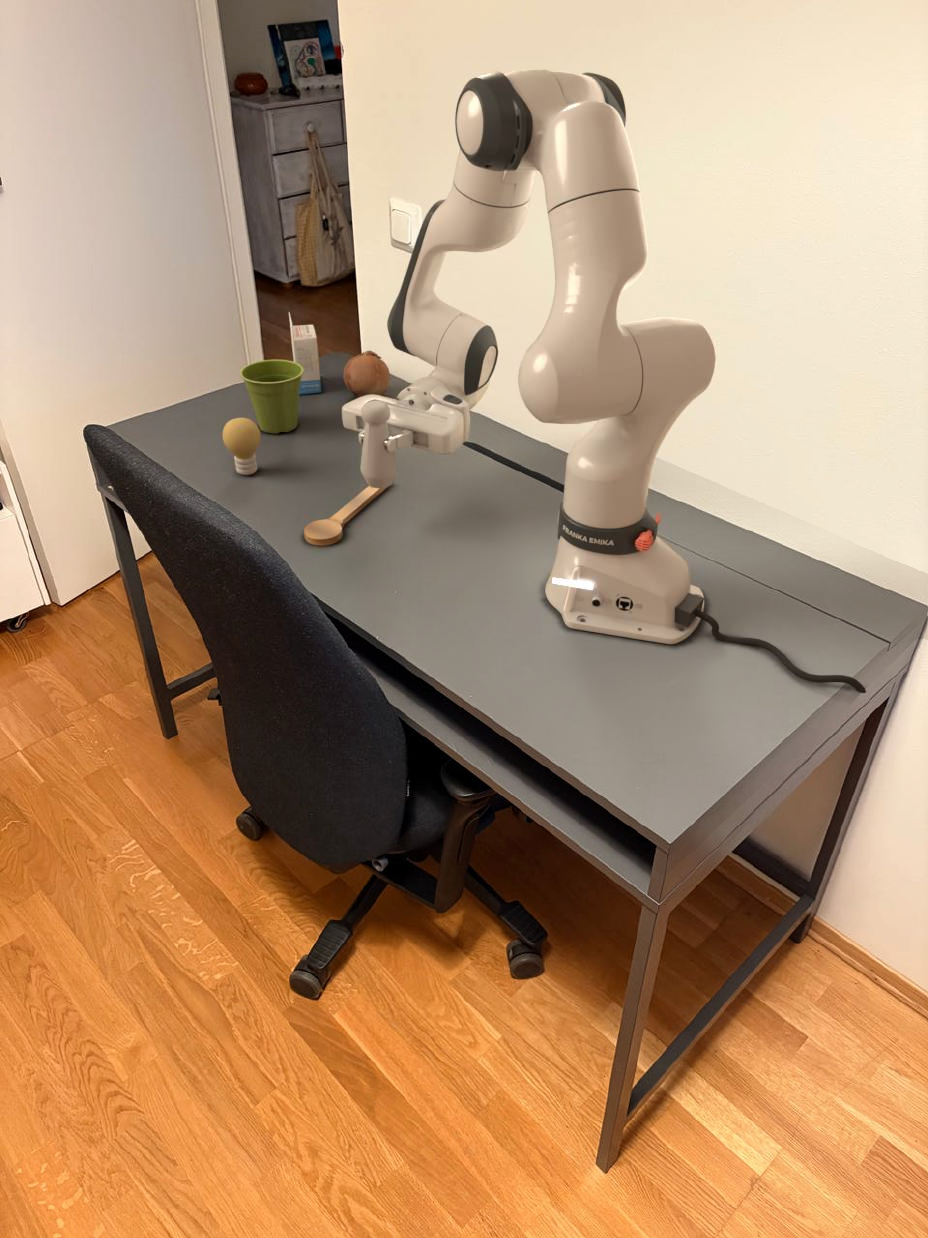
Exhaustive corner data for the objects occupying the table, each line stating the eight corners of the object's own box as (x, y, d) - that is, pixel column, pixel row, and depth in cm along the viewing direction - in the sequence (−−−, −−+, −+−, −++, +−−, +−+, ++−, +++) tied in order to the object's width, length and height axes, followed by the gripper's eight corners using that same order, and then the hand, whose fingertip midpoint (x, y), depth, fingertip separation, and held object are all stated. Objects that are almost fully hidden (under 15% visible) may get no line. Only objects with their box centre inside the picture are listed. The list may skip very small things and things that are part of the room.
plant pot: (304, 440, 172) (298, 383, 165) (242, 439, 172) (233, 382, 166) (314, 413, 182) (308, 358, 175) (254, 413, 182) (246, 358, 175)
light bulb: (268, 476, 160) (261, 424, 154) (232, 483, 159) (223, 429, 153) (261, 461, 165) (254, 409, 159) (226, 467, 163) (217, 415, 157)
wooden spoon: (369, 480, 159) (368, 474, 159) (399, 487, 157) (398, 481, 157) (297, 540, 144) (296, 533, 143) (329, 549, 142) (328, 542, 141)
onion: (371, 402, 193) (377, 353, 191) (395, 404, 186) (401, 354, 184) (332, 396, 187) (337, 346, 185) (355, 398, 180) (361, 346, 178)
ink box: (322, 392, 190) (316, 322, 181) (298, 395, 189) (290, 324, 180) (318, 377, 196) (311, 308, 188) (295, 379, 196) (287, 310, 187)
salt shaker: (392, 493, 140) (388, 414, 132) (357, 489, 141) (350, 410, 133) (402, 475, 145) (398, 397, 137) (367, 471, 146) (362, 394, 138)
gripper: (369, 378, 150) (317, 409, 140) (477, 404, 141) (430, 439, 132) (371, 414, 154) (321, 446, 144) (477, 441, 145) (431, 478, 136)
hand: (374, 443), depth 138 cm, fingers closed on salt shaker, 3 cm apart
